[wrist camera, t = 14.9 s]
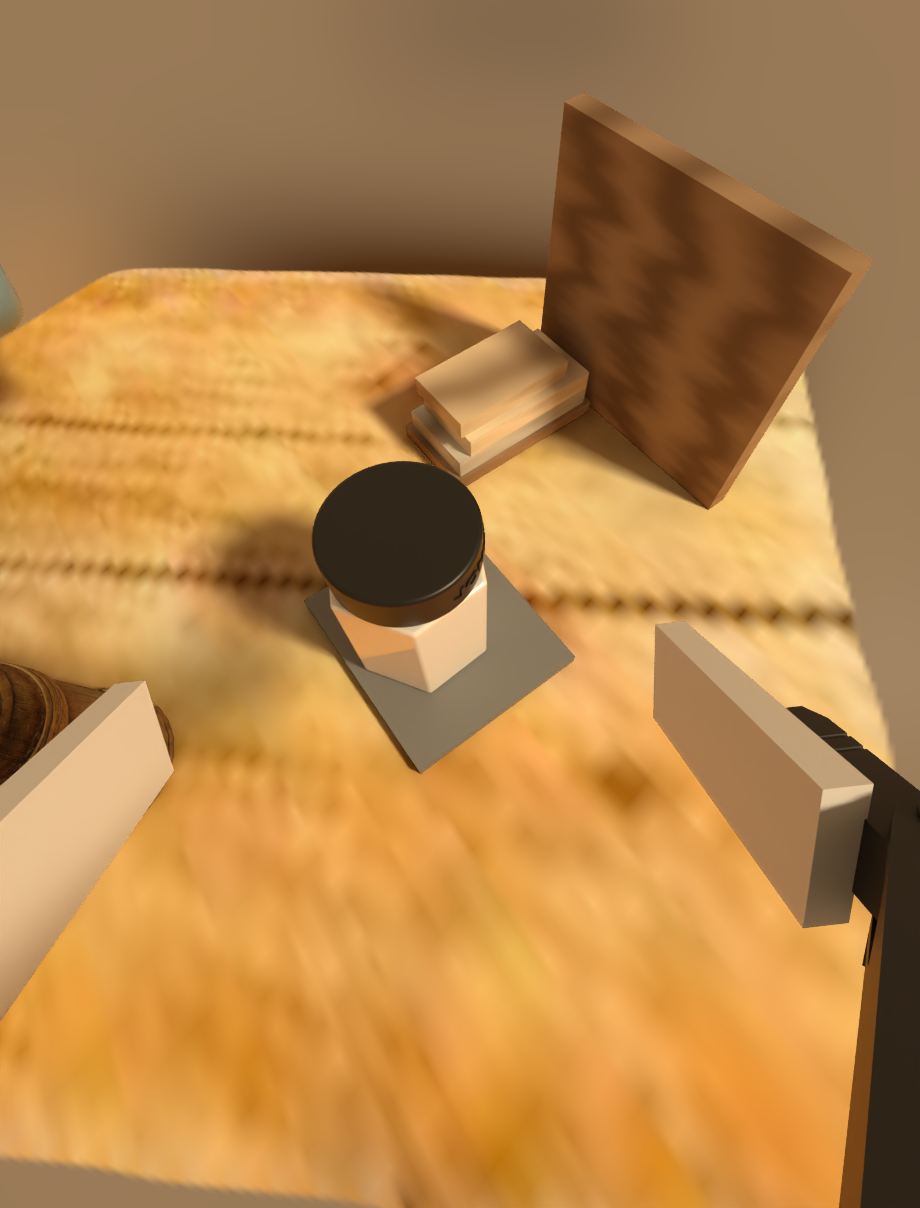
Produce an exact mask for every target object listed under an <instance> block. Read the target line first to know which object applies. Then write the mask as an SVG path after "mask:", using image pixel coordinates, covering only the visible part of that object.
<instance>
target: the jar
mask: <svg viewBox="0 0 920 1208" xmlns="http://www.w3.org/2000/svg"><path fill="white" fill-rule="evenodd" d="M312 548H313V554H314V557H315V561H316V563H317V566H318V568H319V570H320V571H321V573H322V575H323V577H324V579H325V581H326V583H327V584H328V586H329V592H330V607H331V609H332V611H333V612H334V614H335V616H336V618H337V619H338V621H339V623H340V625H341V626H342V628H343V630H344V632H345V633H346V635H347V637H348V639H349V640H350V642H351V644H352V646H353V647H354V649H355V651H356V653H357V654H358V656H359V658H360V660H361V661H362V663H363V665H364V667H365V668H366V669H367V670H369V671H372V672H375V673H377V674H380V675H383V676H385V677H388V678H391V679H394V680H396V681H399V682H402V683H404V684H407V685H410V686H412V687H415V688H418V689H420V690H423V691H426V692H429V693H431V692H433V691H434V690H436V689H437V688H438V687H440V686H441V685H442V684H443V683H445V682H446V681H447V680H449V679H450V678H451V677H452V676H454V675H455V674H456V673H458V672H459V671H460V670H461V669H463V668H464V667H465V666H467V665H468V664H469V663H470V662H472V661H473V660H474V659H476V658H477V657H478V656H479V655H481V654H482V653H483V652H485V650H486V648H487V580H486V575H485V569H484V564H483V559H484V553H485V532H484V525H483V520H482V515H481V512H480V509H479V506H478V504H477V502H476V500H475V498H474V496H473V495H472V493H471V492H470V491H469V489H468V488H467V487H466V486H465V485H464V484H463V483H462V482H461V481H460V480H458V479H457V478H456V477H454V476H453V475H451V474H450V473H448V472H446V471H444V470H442V469H440V468H437V467H435V466H432V465H428V464H424V463H419V462H411V461H396V462H387V463H382V464H378V465H374V466H371V467H368V468H366V469H363V470H361V471H359V472H357V473H355V474H353V475H352V476H350V477H348V478H347V479H345V480H344V481H343V482H342V483H340V484H339V485H338V486H337V487H336V488H335V489H334V490H333V491H332V492H331V493H330V494H329V495H328V497H327V498H326V499H325V501H324V502H323V504H322V505H321V507H320V509H319V511H318V513H317V516H316V518H315V521H314V526H313V531H312Z"/></svg>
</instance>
